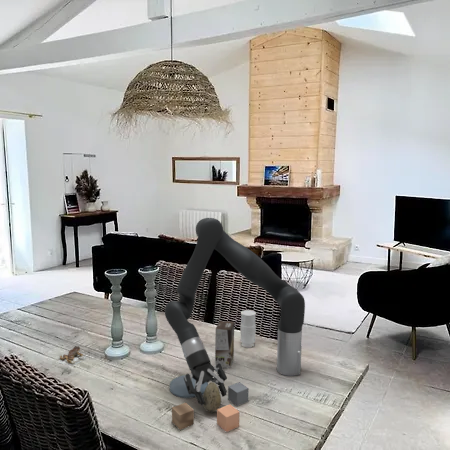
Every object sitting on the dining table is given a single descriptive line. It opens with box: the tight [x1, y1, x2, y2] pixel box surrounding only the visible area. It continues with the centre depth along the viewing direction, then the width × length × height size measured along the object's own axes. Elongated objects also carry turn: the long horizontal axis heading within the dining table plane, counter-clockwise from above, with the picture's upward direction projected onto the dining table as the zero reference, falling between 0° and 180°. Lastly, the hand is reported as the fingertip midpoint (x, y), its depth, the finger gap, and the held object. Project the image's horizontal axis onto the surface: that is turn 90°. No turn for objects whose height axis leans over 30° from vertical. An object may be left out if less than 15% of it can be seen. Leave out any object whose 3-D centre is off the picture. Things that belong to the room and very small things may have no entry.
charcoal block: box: [227, 381, 249, 407], centre depth 144 cm, size 5×5×5 cm
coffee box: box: [214, 320, 235, 369], centre depth 170 cm, size 9×6×16 cm
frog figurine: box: [57, 345, 86, 366], centre depth 174 cm, size 12×12×4 cm
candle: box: [239, 309, 257, 348], centre depth 187 cm, size 7×7×15 cm
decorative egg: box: [202, 381, 222, 414], centre depth 137 cm, size 6×6×10 cm
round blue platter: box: [169, 374, 209, 399], centre depth 152 cm, size 14×14×1 cm
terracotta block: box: [216, 403, 241, 433], centre depth 130 cm, size 5×5×5 cm
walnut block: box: [171, 402, 195, 431], centre depth 131 cm, size 5×5×5 cm
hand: (214, 399), depth 136 cm, fingers open, 8 cm apart
